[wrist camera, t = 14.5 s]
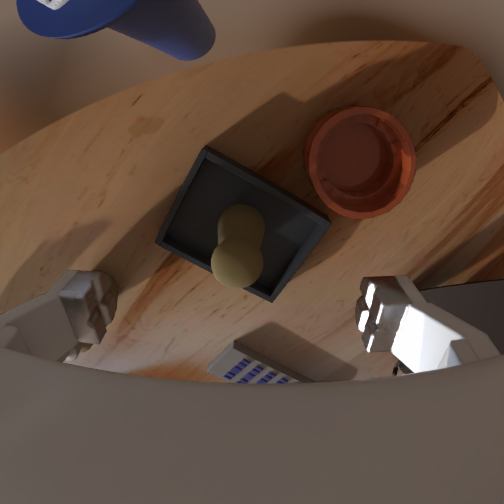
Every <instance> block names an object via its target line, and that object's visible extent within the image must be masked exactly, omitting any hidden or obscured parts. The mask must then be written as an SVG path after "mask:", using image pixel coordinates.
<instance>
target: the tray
mask: <svg viewBox="0 0 504 504" xmlns="http://www.w3.org/2000/svg"><path fill="white" fill-rule="evenodd" d="M237 204H243V205H248V206H251V207H253V208H255V209H256V210H257V211H259V212H260V214H261V215H262V217H263V219H264V222H265V232H264V236H263V240H262V243H261V247H260V251H261V254H262V257H263V270H262V272H261V274H260V276H259V278H258V279H257V280H256V281H255V282H254V283H253V284H251V285H249V286H248V287H244V288H243V289H245V290H247V291H249V292H251V293H253V294H255V295H257V296H259V297H261V298H263V299H265V300H267V301H269V302H271V303H273V301H274V300H275V299H276V297H277V296H278V295H279V294H280V292H281V291H282V290H283V288H284V287H285V286H286V284H287V283H288V282H289V281H290V279H291V278H292V277H293V275H294V274H295V273H296V271H297V270H298V269H299V267H300V266H301V265H302V264H303V262H304V261H305V260H306V258H307V257H308V256H309V254H310V253H311V252H312V250H313V249H314V248H315V246H316V245H317V244H318V242H319V241H320V239H321V238H322V237H323V235H324V234H325V233H326V231H327V230H328V229H329V227H330V226H331V224H332V223H331V221H330V219H329V218H328V216H327V215H325V214H324V213H322V212H320V211H319V210H317V209H316V208H314V207H312V206H311V205H309V204H308V203H306V202H304V201H303V200H301V199H299V198H298V197H296V196H294V195H293V194H291V193H289V192H288V191H286V190H284V189H283V188H281V187H279V186H278V185H276V184H274V183H273V182H271V181H269V180H268V179H266V178H264V177H262V176H261V175H259V174H257V173H255V172H254V171H252V170H250V169H248V168H247V167H245V166H243V165H241V164H240V163H238V162H236V161H234V160H232V159H231V158H229V157H227V156H225V155H223V154H221V153H220V152H218V151H216V150H214V149H212V148H210V147H208V146H207V145H205V147H203V148H202V149H201V151H200V153H199V155H198V157H197V159H196V160H195V162H194V164H193V166H192V168H191V170H190V172H189V174H188V176H187V177H186V179H185V181H184V183H183V185H182V187H181V189H180V191H179V193H178V195H177V197H176V199H175V201H174V203H173V205H172V207H171V209H170V211H169V213H168V215H167V217H166V219H165V221H164V223H163V226H162V228H161V230H160V232H159V234H158V236H157V238H156V240H155V244H157V245H159V246H160V247H162V248H164V249H166V250H168V251H170V252H172V253H174V254H176V255H178V256H179V257H181V258H183V259H185V260H187V261H189V262H191V263H193V264H195V265H197V266H199V267H201V268H203V269H205V270H207V271H209V272H211V273H213V271H212V268H211V258H212V255H213V252H214V250H215V248H216V247H217V246H218V220H219V217H220V215H221V214H222V213H223V211H224V210H226V209H227V208H229V207H230V206H234V205H237Z"/></svg>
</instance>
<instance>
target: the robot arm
mask: <svg viewBox="0 0 504 504" xmlns="http://www.w3.org/2000/svg"><path fill="white" fill-rule="evenodd" d="M37 1H39V2H40V3H42V4H44V5H46V6H47V7H49V8H51V9H53V10H56V9H59V8H60V7H62V6H63V5H64V4H65V3H67V2H68V1H69V0H37ZM110 285H111V283H110V279H109V276H108V274H107V273H106V272H97V271H82V270H81V271H80V270H66V271H65V273H64V274H63V275H62V276H61V277H60V278H59V279H58V280H57V281H56V282H55V284H54V285H53V286H52V287H51V288H50V289H49V290H48V292H47V293H46V294H41V295H39V296H37V297H35V298H33V299H31V300H29V301H27V302H25V303H23V304H21V305H19V306H17V307H15V308H13V309H11V310H9V311H7V312H5V313H3V314H1V315H0V504H504V354H503V355H501V354H500V353H499V351H498V350H497V348H496V347H495V345H494V344H493V343H492V341H491V340H490V338H489V337H488V335H487V334H486V333H484V332H482V331H480V330H479V329H477V328H475V327H474V326H472V325H470V324H468V323H466V322H465V321H463V320H461V319H459V318H458V317H456V316H454V315H452V314H450V313H449V312H447V311H445V310H443V309H441V308H440V307H438V306H436V305H434V304H432V303H427V302H426V301H425V299H424V298H423V296H422V295H421V294H420V292H419V291H418V289H417V288H416V286H415V285H414V284H413V282H412V281H411V280H410V278H409V277H408V276H406V275H401V276H380V277H363V279H362V281H361V285H360V290H361V293H362V296H361V297H360V298H359V299H358V300H357V303H356V308H355V319H356V324H357V327H358V329H359V330H361V331H362V332H363V335H362V340H363V343H364V346H365V348H366V351H367V353H369V352H386V351H392V353H393V354H394V355H395V356H396V357H397V358H398V359H399V360H401V361H402V362H403V363H404V364H405V365H406V366H407V367H408V368H410V369H411V370H412V371H413V372H414V373H410V374H403V375H396V376H388V377H380V378H370V379H360V380H349V381H335V382H317V383H287V384H249V383H218V382H200V381H186V380H174V379H164V378H154V377H146V376H138V375H130V374H123V373H117V372H110V371H104V370H98V369H93V368H87V367H82V366H77V365H72V364H67V363H62V362H58V361H56V360H57V359H59V358H60V357H61V356H62V355H64V354H65V353H66V352H68V351H69V350H70V349H71V348H73V347H74V346H75V345H76V344H78V342H83V343H91V344H100V343H101V341H102V339H103V337H104V335H105V333H106V332H107V330H106V327H105V326H106V325H108V324H109V323H111V322H112V320H113V318H114V316H115V311H116V303H115V298H114V295H113V294H112V293H111V292H110V290H109V287H110Z"/></svg>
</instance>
